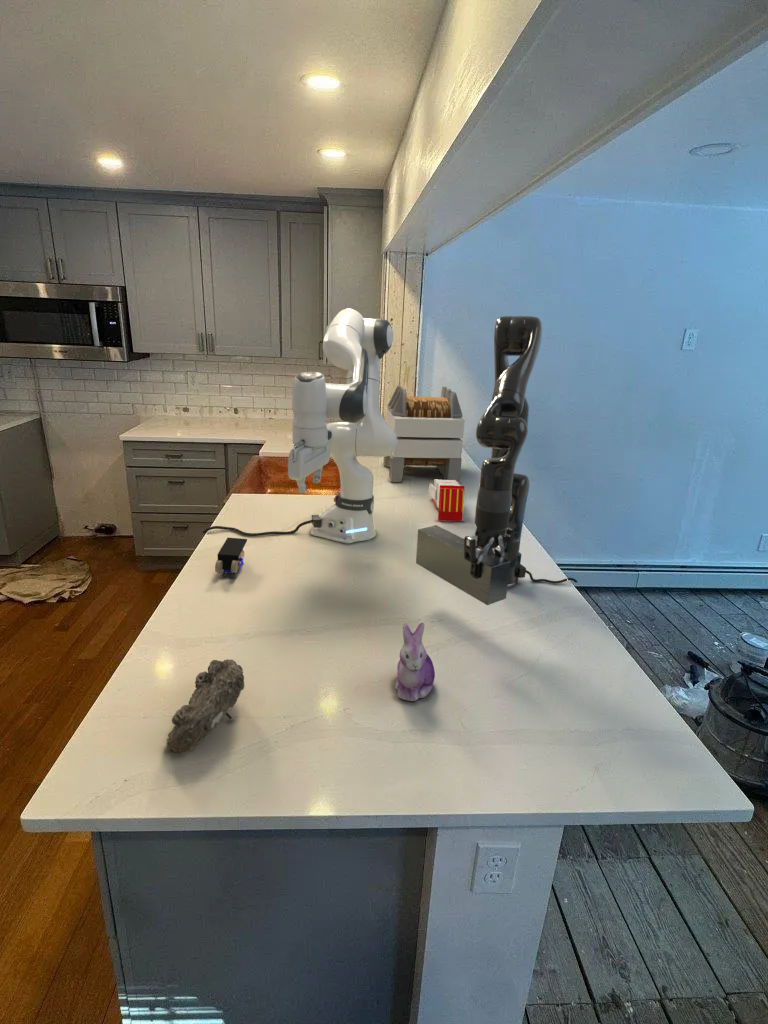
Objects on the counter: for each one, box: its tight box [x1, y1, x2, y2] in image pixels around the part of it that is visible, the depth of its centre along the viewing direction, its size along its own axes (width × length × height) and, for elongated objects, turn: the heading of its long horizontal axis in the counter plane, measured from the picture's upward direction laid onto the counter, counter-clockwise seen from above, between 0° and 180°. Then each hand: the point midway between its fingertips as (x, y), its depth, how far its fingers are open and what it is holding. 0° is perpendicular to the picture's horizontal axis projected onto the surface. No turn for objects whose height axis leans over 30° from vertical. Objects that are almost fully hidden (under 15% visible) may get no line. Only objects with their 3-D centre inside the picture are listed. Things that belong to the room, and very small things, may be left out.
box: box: [415, 524, 511, 606], centre depth 138 cm, size 26×6×10 cm, turn 35°
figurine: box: [394, 622, 436, 702], centre depth 116 cm, size 9×10×15 cm
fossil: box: [166, 658, 245, 754], centre depth 106 cm, size 22×10×15 cm
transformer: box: [383, 384, 465, 484], centre depth 268 cm, size 34×33×41 cm
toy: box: [428, 479, 465, 522], centre depth 225 cm, size 12×13×30 cm
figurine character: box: [214, 537, 248, 578], centre depth 166 cm, size 7×8×15 cm
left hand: (309, 487), depth 152 cm, fingers open, 8 cm apart
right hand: (485, 573), depth 131 cm, fingers closed on box, 6 cm apart
